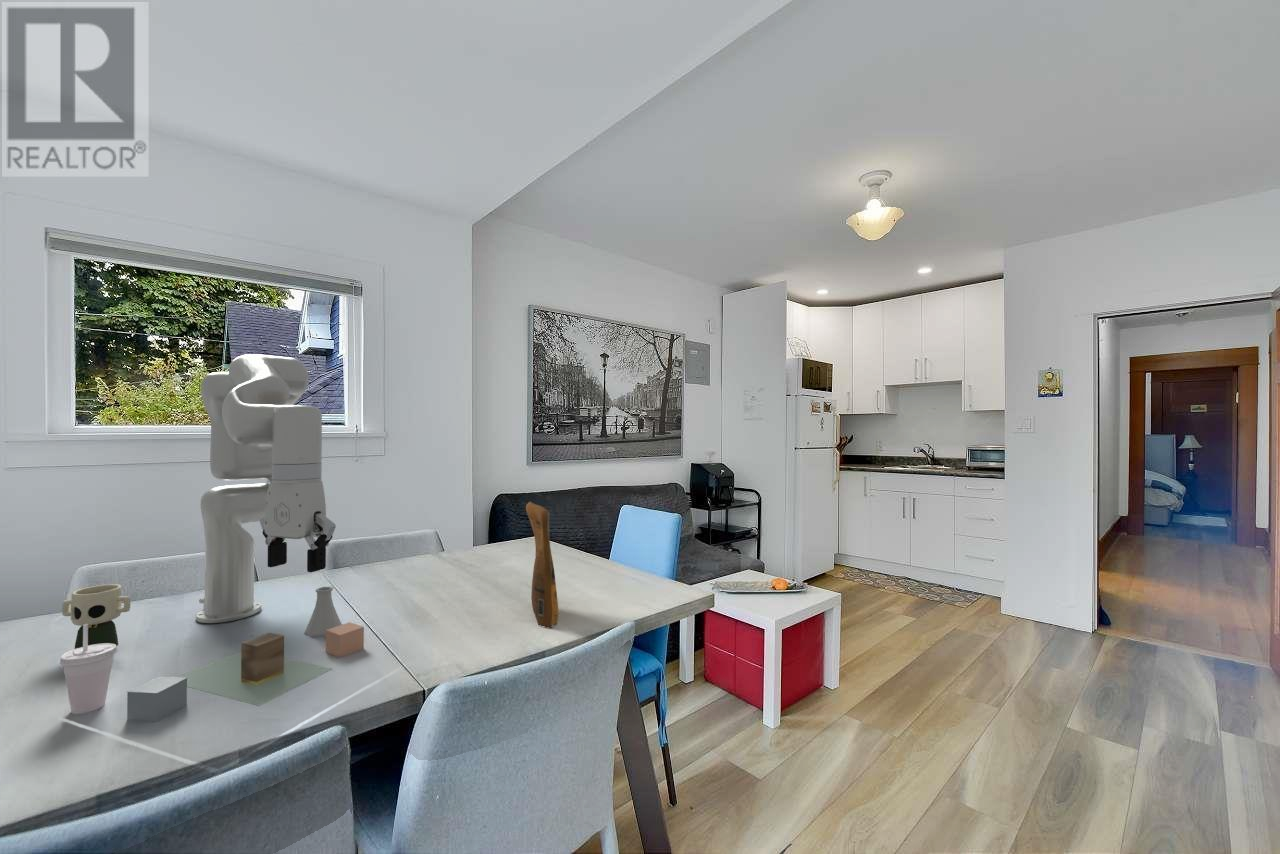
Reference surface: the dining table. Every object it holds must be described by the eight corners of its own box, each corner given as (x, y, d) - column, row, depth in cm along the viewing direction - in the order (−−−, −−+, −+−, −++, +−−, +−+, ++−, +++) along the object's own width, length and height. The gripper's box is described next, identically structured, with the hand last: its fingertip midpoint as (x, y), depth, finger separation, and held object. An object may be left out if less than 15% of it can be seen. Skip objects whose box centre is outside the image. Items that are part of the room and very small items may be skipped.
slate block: (127, 723, 82) (127, 691, 82) (158, 706, 87) (158, 676, 87) (156, 725, 82) (157, 693, 82) (186, 707, 87) (187, 677, 87)
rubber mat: (165, 682, 95) (165, 680, 95) (245, 651, 108) (245, 649, 108) (258, 707, 87) (258, 705, 87) (333, 670, 100) (333, 668, 100)
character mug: (48, 664, 101) (48, 597, 101) (75, 648, 108) (76, 585, 108) (118, 657, 104) (118, 592, 104) (140, 643, 111) (141, 582, 111)
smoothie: (86, 700, 88) (87, 617, 88) (127, 699, 89) (127, 616, 89) (46, 721, 82) (47, 632, 82) (90, 720, 83) (91, 631, 83)
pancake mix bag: (533, 633, 119) (534, 510, 119) (524, 605, 137) (525, 499, 137) (562, 630, 121) (564, 509, 121) (549, 603, 139) (551, 498, 139)
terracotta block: (325, 654, 107) (325, 630, 107) (349, 645, 112) (349, 622, 112) (340, 660, 105) (340, 635, 105) (363, 650, 109) (363, 626, 109)
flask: (325, 640, 114) (325, 594, 114) (296, 637, 115) (297, 592, 115) (349, 628, 121) (350, 584, 121) (322, 625, 122) (323, 582, 122)
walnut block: (241, 681, 95) (241, 642, 95) (268, 669, 99) (269, 632, 99) (256, 685, 93) (257, 646, 93) (283, 673, 98) (284, 635, 98)
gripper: (242, 473, 94) (241, 568, 94) (313, 476, 88) (312, 578, 88) (283, 470, 101) (282, 559, 101) (351, 473, 96) (350, 567, 95)
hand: (296, 567), depth 95 cm, fingers open, 9 cm apart
